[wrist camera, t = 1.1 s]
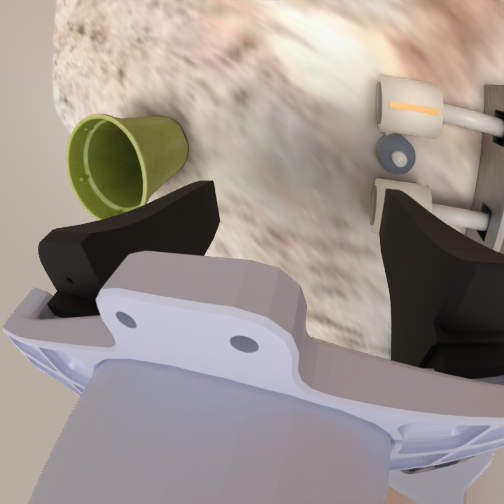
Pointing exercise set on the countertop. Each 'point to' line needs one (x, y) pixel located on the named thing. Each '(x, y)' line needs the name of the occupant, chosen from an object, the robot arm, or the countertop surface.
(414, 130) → the knob
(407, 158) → the potentiometer
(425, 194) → the knob
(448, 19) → the countertop surface
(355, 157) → the countertop surface
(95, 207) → the plant pot
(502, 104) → the panel
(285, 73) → the countertop surface
